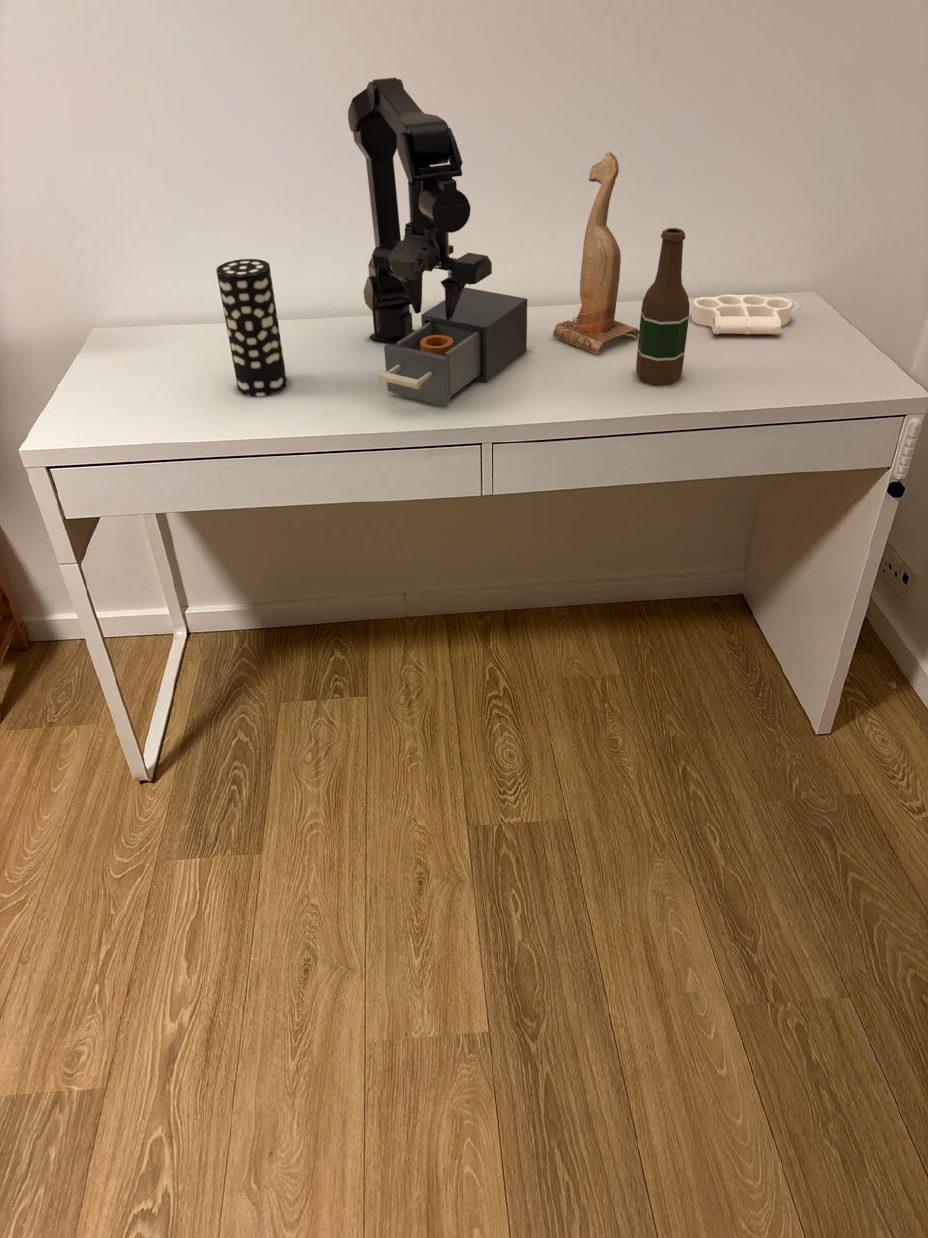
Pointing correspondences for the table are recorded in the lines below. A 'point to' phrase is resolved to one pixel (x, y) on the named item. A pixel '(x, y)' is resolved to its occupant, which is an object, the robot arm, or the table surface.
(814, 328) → the table surface
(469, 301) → the cabinet
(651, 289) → the beer bottle
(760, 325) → the white brass knuckles
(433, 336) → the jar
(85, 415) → the table surface
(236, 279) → the spotted tube
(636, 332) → the bird sculpture
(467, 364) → the drawer
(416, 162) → the robot arm
